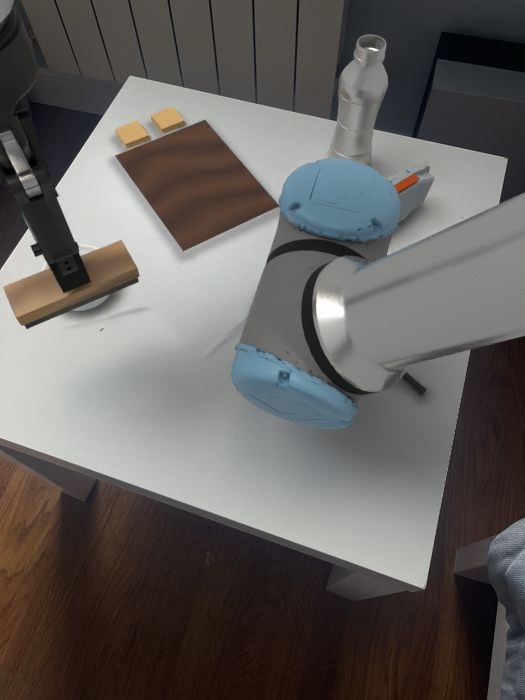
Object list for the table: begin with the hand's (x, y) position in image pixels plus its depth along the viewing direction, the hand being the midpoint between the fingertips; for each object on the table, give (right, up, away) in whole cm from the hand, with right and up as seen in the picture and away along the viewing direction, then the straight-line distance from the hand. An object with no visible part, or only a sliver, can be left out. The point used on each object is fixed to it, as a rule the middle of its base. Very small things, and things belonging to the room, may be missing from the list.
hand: (69, 271), depth 51 cm
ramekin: (-6, +1, +22) cm, 22 cm away
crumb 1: (-2, +26, +35) cm, 44 cm away
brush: (0, -2, +3) cm, 3 cm away
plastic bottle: (+31, +21, +34) cm, 51 cm away
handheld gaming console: (+36, +11, +28) cm, 47 cm away
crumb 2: (+3, +29, +37) cm, 47 cm away
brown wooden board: (+8, +18, +31) cm, 37 cm away
